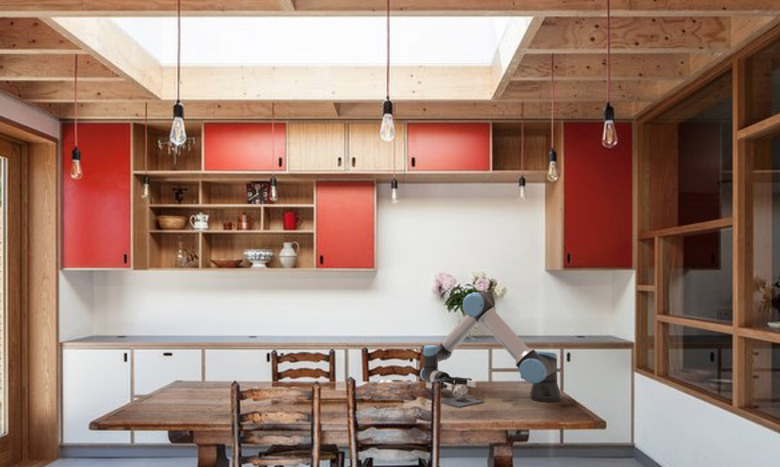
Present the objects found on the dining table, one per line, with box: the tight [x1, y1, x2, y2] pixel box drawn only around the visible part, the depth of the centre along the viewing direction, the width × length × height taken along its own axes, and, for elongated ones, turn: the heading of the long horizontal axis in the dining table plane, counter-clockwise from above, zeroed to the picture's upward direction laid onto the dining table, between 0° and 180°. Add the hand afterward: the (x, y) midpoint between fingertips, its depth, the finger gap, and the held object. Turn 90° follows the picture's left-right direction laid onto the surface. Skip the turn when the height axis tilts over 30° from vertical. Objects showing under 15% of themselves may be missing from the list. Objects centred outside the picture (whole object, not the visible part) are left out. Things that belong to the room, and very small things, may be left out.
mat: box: [440, 396, 484, 409], centre depth 305 cm, size 16×16×1 cm
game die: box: [450, 384, 471, 401], centre depth 306 cm, size 9×8×10 cm
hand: (463, 386), depth 303 cm, fingers open, 13 cm apart
